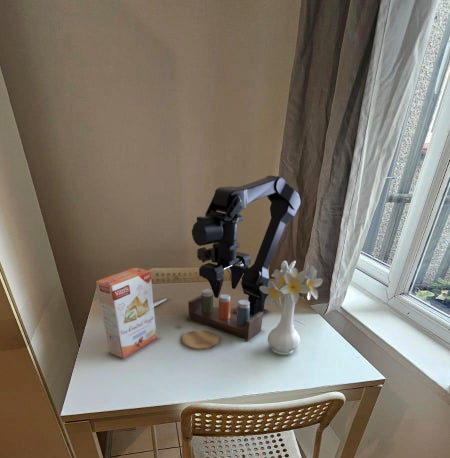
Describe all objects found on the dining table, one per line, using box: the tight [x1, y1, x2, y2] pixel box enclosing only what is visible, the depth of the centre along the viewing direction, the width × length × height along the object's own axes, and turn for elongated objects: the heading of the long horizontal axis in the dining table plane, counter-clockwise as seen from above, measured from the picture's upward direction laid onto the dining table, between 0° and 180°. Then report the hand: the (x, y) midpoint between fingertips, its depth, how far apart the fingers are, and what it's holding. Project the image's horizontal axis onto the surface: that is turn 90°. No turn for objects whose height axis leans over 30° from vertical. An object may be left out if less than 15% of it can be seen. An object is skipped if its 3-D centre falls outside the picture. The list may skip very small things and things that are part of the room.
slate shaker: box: [236, 299, 250, 326], centre depth 103 cm, size 4×4×7 cm
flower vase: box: [259, 258, 323, 356], centre depth 90 cm, size 13×18×25 cm
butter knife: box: [153, 298, 168, 308], centre depth 116 cm, size 1×27×3 cm
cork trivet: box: [181, 329, 219, 351], centre depth 101 cm, size 11×11×1 cm
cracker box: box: [95, 266, 157, 359], centre depth 92 cm, size 14×6×21 cm, turn 148°
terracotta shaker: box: [218, 293, 232, 320], centre depth 106 cm, size 4×4×7 cm
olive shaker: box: [200, 288, 214, 314], centre depth 109 cm, size 4×4×7 cm
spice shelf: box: [187, 295, 264, 342], centre depth 108 cm, size 8×23×6 cm, turn 55°
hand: (225, 293), depth 103 cm, fingers open, 9 cm apart
